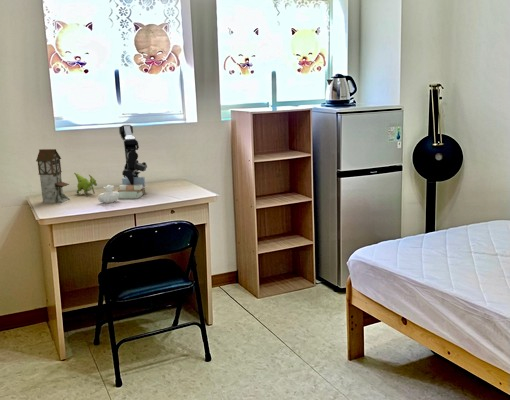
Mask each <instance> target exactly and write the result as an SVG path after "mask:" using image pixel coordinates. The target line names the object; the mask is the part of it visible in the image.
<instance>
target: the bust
mask: <svg viewBox="0 0 510 400" xmlns="http://www.w3.org/2000/svg"><path fill="white" fill-rule="evenodd" d="M102 187H103V189H105V192H103V193H102V192H101V193H99V194H98V195H97V198H98V200H99V202H100V203H105V204H106V203H107V204H112V203H114V202H115V201H118V200H119V199H118V198H119V193H118V192H117V191H114V188H115V186H114V185H111V184H107V185H106V186H102Z"/></svg>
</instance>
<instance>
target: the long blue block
mask: <svg viewBox="0 0 510 400" xmlns="http://www.w3.org/2000/svg"><path fill="white" fill-rule="evenodd" d="M145 177H146V176H138V177H134V185H140V184H142V187H143V188H145V186H146V178H145ZM121 183H122V184H121V185H131V183H130V182H129V180H128V178H124V177H122V178H121Z"/></svg>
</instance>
